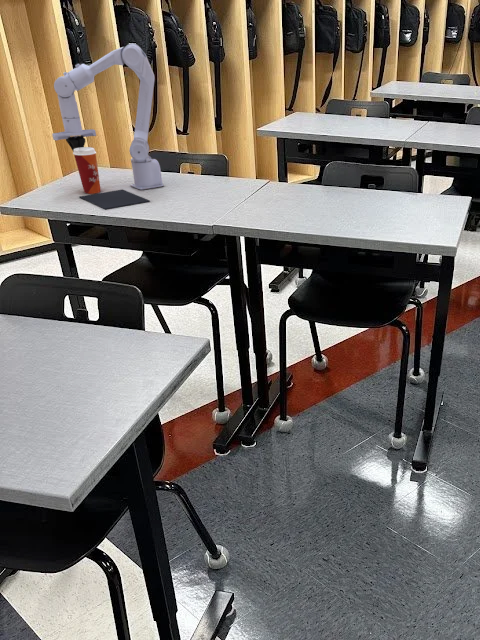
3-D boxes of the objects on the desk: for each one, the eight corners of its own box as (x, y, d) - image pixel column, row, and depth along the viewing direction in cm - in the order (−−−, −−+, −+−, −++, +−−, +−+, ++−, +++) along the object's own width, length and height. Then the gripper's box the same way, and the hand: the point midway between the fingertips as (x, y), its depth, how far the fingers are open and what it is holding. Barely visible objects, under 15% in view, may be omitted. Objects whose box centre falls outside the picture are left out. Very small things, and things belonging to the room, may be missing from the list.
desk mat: (122, 190, 234) (122, 189, 234) (149, 201, 222) (149, 200, 222) (79, 197, 226) (79, 196, 225) (105, 209, 214) (105, 208, 213)
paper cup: (99, 194, 229) (91, 151, 221) (78, 194, 229) (68, 150, 221) (106, 189, 236) (98, 146, 227) (85, 188, 236) (76, 146, 227)
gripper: (86, 114, 229) (94, 156, 237) (45, 117, 221) (55, 161, 229) (95, 116, 224) (103, 159, 232) (53, 120, 217) (63, 164, 224)
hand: (79, 160), depth 230 cm, fingers closed, pressing on paper cup
